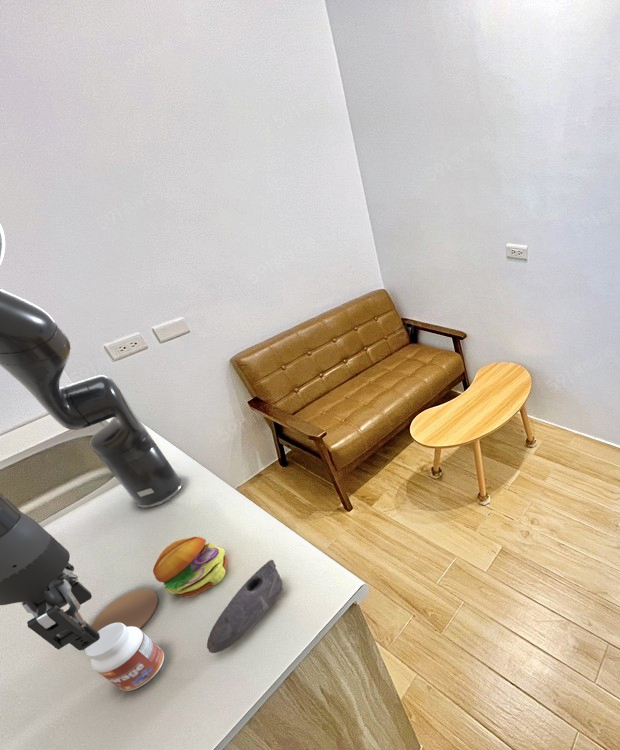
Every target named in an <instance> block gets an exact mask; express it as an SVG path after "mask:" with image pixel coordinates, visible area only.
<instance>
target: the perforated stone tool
mask: <svg viewBox="0 0 620 750" xmlns="http://www.w3.org/2000/svg"><path fill="white" fill-rule="evenodd" d="M283 584H284V583H283V579H282V577H281V576H280V574H279V572H278V569H277V565H276V563H275V561H274V559H270V560H268V561H267V562H265V563H264V564H263V565H262V566H261V567H260V568H259V569H258V570H257V571H256V572H255V573H253V575H251V576H250V578H248V580H247V581H246V582H245V583H244V584H243V585H242V586H241V588H240V589H238V591H237V592H236V593H235V595H234V596H233V597H232V598H231V600H230V601H229V603H227V606H226V607H224V609H223V611H222V612H221V613H220V615H219V617H218V618H217V620H216V621H215V623H214V625H213V626H212V628H211V630H210V632H209V635H208V638H207V643H206V649H207V650H208V652H209V653H211V654H217V653H221V652H223V651H224V650H227V649H228V648H230V647H231V646H233V645H234V644H235V643H237V642H238V641H239V640H240V639H241V638H243V637H244V636H245V635H246V634H247V633H248V632H249V631H250V630H251V629H252V628H253V627H254V625H256V624H257V622H258V621H260V619H261V618H262V617H263V616H264V615H265V614H266V613H267V611H268V610H269V609H271V607H272V606H273V605H274V604H275V602H276V601H277V599H278V598H279V597H280V595H281V594H282V593H283V591H284V587H283Z"/></svg>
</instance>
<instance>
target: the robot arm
mask: <svg viewBox="0 0 620 750" xmlns="http://www.w3.org/2000/svg"><path fill="white" fill-rule="evenodd" d="M5 251H6V239H5V233H4V229H3V226H2V225H1V224H0V265H1V264H2V262H3V260H4V255H5ZM70 355H71V342H70V340H69V337H68V336H67V335H66V333H65V332H64V331H63V329H62V328H61V327H60V326H59V325H58V323H57V322H56V321H55V320H54V319H53V317H51V315H50V314H49V313H48V312H46V311H45V309H42V308H41V307H39V306H38V305H36V304H34V303H32V302H30V301H29V300H26V299H23V298H22V297H19V296H17V295H15V294H12V293H11V292H8V291H5V290H4V289H1V288H0V367H1V368H3V369H4V370H5V371H6V372H7V373H8V374H10V375H11V376H12V377H13V378H14V379H15V380H17V381H18V382H19V383H20V384H21V385H22V386H23V387H24V388H25V389H26V390H27V391H28V392H29V393H30V394H31V396H33V397H34V398H35V399H36V401H37V402H38V403H39V404H40V405H41V406H42V407H43V409H44V410H45V411H46V412H47V413H48V414H49V416H51V417H52V419H54V421H56V423H58V424H59V426H62V427H63V428H65V429H66V430H67V429H68V430H71V431H77V430H82V429H85V428H88V427H91V426H95V425H97V424H100V423H102V422H104V421H105V422H106V421H108V420H109V419H111V420H110V421H109V422H108V423H107V424H106V425H104V426H103V427H102V428H100V429H99V430H98V431H97V432H95V433H94V434H93V435H92V437H91V438H90V440H89V447H90V448H91V450H92V451H93V452H94V453H95V455H97V457H98V458H99V459H100V460H101V462H102V463H103V464H104V465H105V466H106V468H107V469H108V470H109V471H110V472H111V474H112V475H113V476H114V477H115V479H116V480H117V481H118V483H120V485H121V486H122V487H123V489H125V491H126V492H127V493H128V494H129V496H130V497H131V498H132V500H134V502H135V504H136V505H137V506H138V507H139V508H143V509H148V508H153V507H158V506H160V505H162V504H165V503H166V502H168V501H169V500H171V499H173V498H174V497H175V496H176V495H178V493H179V492H180V491H181V490H182V488H183V485H184V481H183V480H182V478H181V477H179V475H178V473H177V472H176V471H175V469H174V468H173V466H172V465H171V463H170V462H169V460H168V459H167V458H166V456H165V454H163V453H164V452H162V451H161V449H160V448H159V446H158V444H157V443H156V442H155V440H154V438H152V436H151V434H150V433H149V432H148V430H147V429H146V428H145V426H144V425H143V423H142V422H141V421H140V419H139V417H137V414H136V413H135V412H134V410H133V408H132V407H131V405H130V404H129V402H128V400H127V398H126V397H125V395H124V393H123V392H122V390H121V388H120V387H119V386H118V384H117V383H116V382H115V381H114V379H112V378H111V377H109V376H108V375H106V374H99V375H95V376H92V377H89V378H86V379H82V380H79V381H76V382H72V383H69V384H67V385H64V386H60V382H61V378H62V375H63V373H64V371H65V369H66V366H67V364H68V361H69V359H70ZM70 557H71V556H70V552H69V550H67V548H65V547H64V546H63V545H62V544H61V543H60V542H59V541H58V540H57V539H55V538H54V536H53V535H51V534H50V533H49V532H48V531H47V530H46V529H45V528H44V527H43V526H42V525H40V524H39V523H38V522H37V521H36V520H35V519H33V518H32V517H31V516H29V515H28V514H26V513H24V512H23V511H21V510H20V509H19V508H18V507H17V506H16V505H15V504H14V503H12V502H11V501H10V500H9V499H8V497H6V496H5V495H4V494H2V493H1V492H0V606H7V605H12V604H19V603H21V606H22V607H23V608H24V610H25V611H26V612H27V613H28V614H31V615H32V616H33V618H31V619H29V620H27V622H26V623H27V628H28V629H30V630H32V631H33V632H34V633H35V634H37V635H38V636H39V637H41V638H42V639H43V640H45V641H46V642H47V643H49V644H50V645H51V646H53V648H54V649H56V650H58V651H59V650H62V649H63V648H64V647H65V646H67V645H71V646H72V647H74V648H75V649H76V650H78V651H83V650H85V648H87V647H88V646H90V645H92V644H93V643H95V642H96V641H98V640H99V639H100V635H99V633H98V632H97V631H96V630H95V629H93V628H92V627H91V626H92V625H90V624H88V623H87V622H86V620H85V619H84V618H83V616H82V615H81V614H80V612H79V610H80V609H81V605H83V604H85V603H86V602H88V601H90V600H91V599H92V597H93V596H92V592H91V591H90V590H88V589H87V588H86V587H85V586H84V585H83V584H82V583H81V582H79V576H78V575H77V574H75V573H74V572H75V566H74V565H73V564H71V563H70ZM67 605H69V607H68V609H66V610H65V609H63V608H64V607H65V606H67Z"/></svg>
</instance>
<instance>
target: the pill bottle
mask: <svg viewBox="0 0 620 750" xmlns="http://www.w3.org/2000/svg"><path fill="white" fill-rule="evenodd" d="M98 633H99V635H100V639H99V640H98V641H96V642H95V643H93V644H92V645H90V646H88V647H87V648H85V649H84V653H85V655H86V656H87V657H88V658H90V666H91V668H92V669H93V670H94V671H95V672H96V673H98V675H101V676H102V677H103V678H105V679H106V680H107V681H108V682H110V683H112V684H113V685H114V686H115V687H116V688H118V689H120V690H121V691H123V692H130V691H134V690H137V689H139V688H141V687H142V686H144V685H145V684H147V683H148V682H150V681H151V680H152V679H154V677H155V676H156V675H157V673H158V672H159V671H160V670H161V669H162V666H163V664H164V660H165V653H164V651H163V649H162V648H161V647H160V646H159V645H158V644H156V643H155V641H153V640H152V639H151V638H150V637H149V636H148V635H147V634H146V633H144V632H143V631H142V629H139V628H137V627H133V626H130V627H127V626H125V625H124V624H123V623H112V624H110V625H107V626H105V627H104V628H102V629H101V630H99V631H98Z"/></svg>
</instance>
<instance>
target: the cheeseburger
mask: <svg viewBox="0 0 620 750" xmlns="http://www.w3.org/2000/svg"><path fill="white" fill-rule="evenodd" d="M227 563H228V560H227V558H226V550H225V549H224V548H222V547H219V546H218V545H216V544H214V543H210V542H208V543H207V539H205V538H203V537H200V536H191V537H186V538H181V539H177V540H176V541H173V542H172V543H170V544H169V545H167V546H166V547H165V548H164V549H163V550H162V551H161V552H160V554H159V555H158V558H157V559H156V561H155V563H154V565H153V569H152V574H153V576H154V578H155V579H156V581H157V582H159V583H163V585H164V586H165V589H166V590H167V592H168V593H169V594H172V595H176V596H178V597H182V598H187V597H188V598H189V597H193V596H195V595H198V594H200V593H203V592H204V591H206V590H208V589H209V588H211V587H213V586H216V585H217V584H219V583H220V582H221V581H222V580H223V579H224V578H225V576H226V570H227Z"/></svg>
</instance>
